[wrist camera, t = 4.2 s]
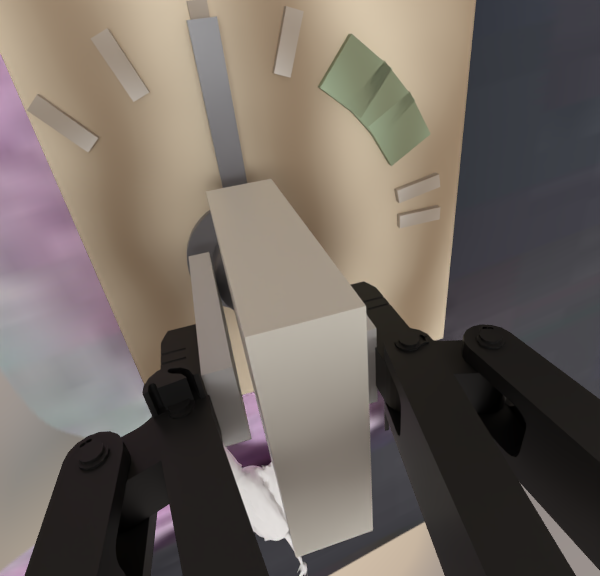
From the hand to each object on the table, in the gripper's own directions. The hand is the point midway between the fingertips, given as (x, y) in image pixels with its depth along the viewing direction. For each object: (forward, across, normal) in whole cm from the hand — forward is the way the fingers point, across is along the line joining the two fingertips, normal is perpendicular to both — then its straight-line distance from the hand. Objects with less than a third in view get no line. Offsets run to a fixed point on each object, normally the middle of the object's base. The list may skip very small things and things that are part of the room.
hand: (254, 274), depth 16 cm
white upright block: (+2, 0, +2) cm, 3 cm away
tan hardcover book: (+4, +2, +3) cm, 6 cm away
